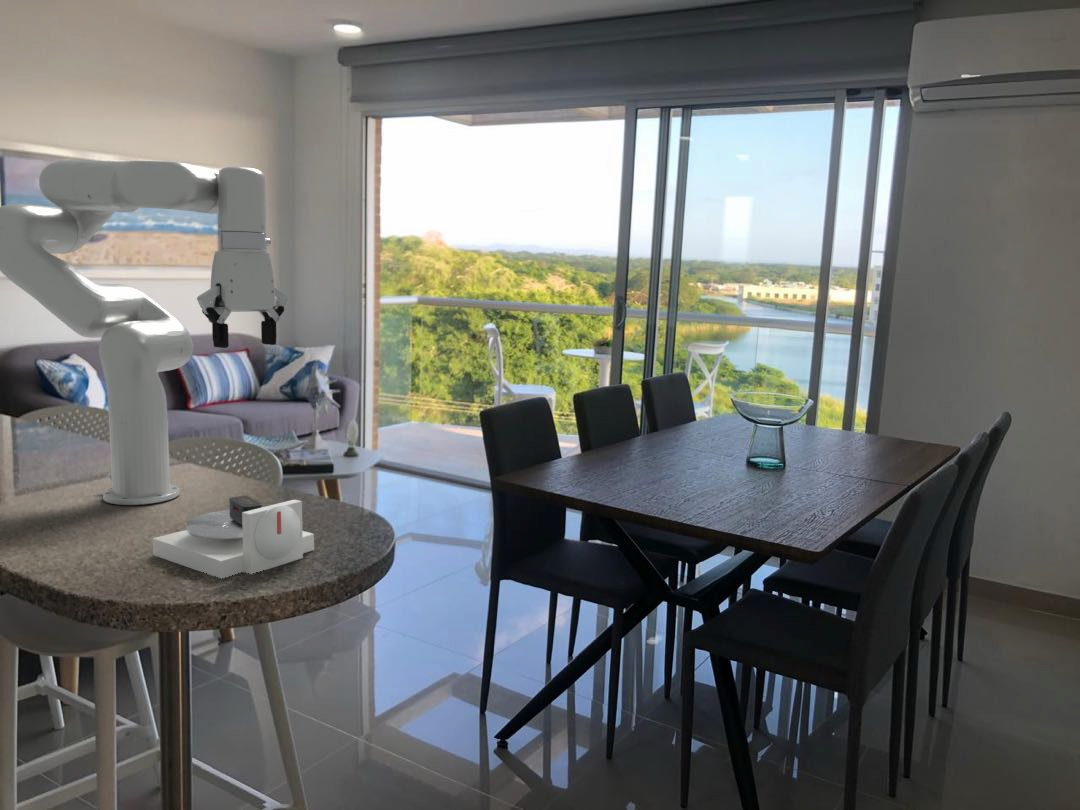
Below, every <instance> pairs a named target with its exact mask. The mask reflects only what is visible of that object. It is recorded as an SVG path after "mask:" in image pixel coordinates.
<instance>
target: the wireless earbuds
mask: <svg viewBox="0 0 1080 810" xmlns="http://www.w3.org/2000/svg"><path fill="white" fill-rule="evenodd" d="M228 504H229V505H228V506H229V510H230V518H231V519H232V520H234V521H235V522H237V523H238V524H240V525H242V512H246V511H250V510H254V509H258V508H262V507H263V504H262V502H259V501H257V500H256V499H254V498H252V497H250V496H249V495H241V496H232V497H229V499H228Z"/></svg>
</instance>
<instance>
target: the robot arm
mask: <svg viewBox="0 0 1080 810" xmlns="http://www.w3.org/2000/svg"><path fill="white" fill-rule="evenodd" d="M38 185H39V189H40V192H41V193H42V195H43V196H44V197H45V199H46V200H47V201H48V202H49V203H51V204H53V205H54V206H49V205H48V206H47V205H40V204H31V203H30V204H28V203H9V204H5V205H2V206H0V272H1V273H2V274H3V275H4V276H5V278H7V279H8V280H9V281H11V282H12V283H14V284H15V285H16V286H17V287H19V288H20V289H21V290H23V291H24V292H26V294H28V295H29V296H31V297H32V298H34V299H35V300H36V301H37V302H38V303H39V304H41V305H42V307H44V308H45V309H46V310H47V311H49V313H51V314H52V315H54V316H55V317H56V318H57V319H59V320H60V321H61V322H62V323H63V324H65V325H66V326H67V327H68V328H69V329H71V330H72V331H73V332H75V334H78V336H81V337H84V338H90V339H93V338H94V339H99V338H100V341H99V344H98V345H99V346H98V353H99V354H98V355H99V359H100V364H101V368H102V371H103V376H104V380H105V385H106V387H105V388H106V393H107V394H106V395H107V396H106V397H107V410H108V411H107V412H108V426H109V427H108V430H109V445H110V446H109V447H110V448H109V451H110V467H111V468H110V469H111V470H110V471H109V472H108V473H107V474H106V479H107V480H108V481H111V487H110V488H107V489H105V491H103V493H102V500H103V501H104V502H105V503H108V504H112V505H117V506H118V505H119V506H120V505H121V506H139V505H140V506H141V505H151V504H157V503H162V502H166V501H170V500H173V499H175V498H177V497H178V496H180V487H179V486H178V485H176V484H173V483H171V481H170V480H171V477H170V475H171V474H170V453H169V451H170V448H169V447H170V446H169V425H168V424H169V423H168V402H167V395H166V390H165V387H164V385H163V383H162V381H161V378H160V375H159V373H161V372H167V371H172V370H176V369H179V368H182V367H183V366H185V365H186V364H187V362H189V361H190V359H191V357H192V355H193V352H194V342H193V340H192V336H191V334H190V332H189V331H188V329H187V328H186V326H184V324H182V323H181V322H180V321H179V320H178V319H177V318H176V317H175V316H173V315H172V314H171V313H170V312H168V311H167V310H166V309H165V308H163V307H162V306H161V305H160V304H158V303H157V302H156V301H154V299H152V298H151V297H150V296H148V295H147V294H146V293H144V292H143V291H141V290H140V289H137V288H135V287H133V286H129V285H125V284H116V283H115V284H114V283H113V284H111V283H110V284H105V283H98V282H95V281H93V280H91V279H89V278H88V277H86V276H85V275H83V274H82V273H80V271H79V270H77V269H76V268H75V267H74V265H71V264H70V263H68V262H67V261H65V260H63V259H61V258H60V257H57V256H56V255H54V254H57V255H58V254H59V255H60V254H61V255H62V254H63V255H64V254H69V253H74V252H76V251H78V250H80V249H81V248H82V247H83V246H85V244H87V243H88V242H89V240H91V239H92V237H93V236H94V235H95V234H96V233H98V231H99V230H100V229H101V228H102V227H103V225H105V223H107V222H108V221H109V219H111V218H112V216H113V215H114V214H115V213H132V212H136V211H137V210H138V209H139V208H140V209H144V208H145V209H163V210H164V209H165V210H174V211H175V210H176V211H185V212H186V211H188V212H195V213H200V214H201V213H203V214H211V215H213V214H218V236H219V237H218V240H219V241H218V242H219V251H218V250H217V251H215V252H214V255H213V260H212V267H211V271H210V272H211V274H210V277H211V278H210V288H209V289H208V290H206V291H204V292H203V293H201V294H199V295H198V296H197V298H196V301H197V302H198V305H199V307H200V308H201V311H202V314H203V315H204V316H205V317H206V318H207V320H208V322H209V323H211V325H212V326H211V328H212V329H211V330H212V333H211V334H212V342H213V343H212V344H213V347H214V348H221V349H227V348H229V346H230V345H229V324H228V323H225V322H226V321H227V319H228V318H229V316H230V315H231V313H232V312H236V313H241V312H242V313H243V312H246V313H247V312H248V313H249V312H252V313H253V312H258V314H260V315H261V317H262V318H263V320H261V323H260V325H261V326H260V328H261V330H260V331H261V343H262V344H263V345H271V346H272V345H273V346H276V344H277V322H279V321H280V317H281V315H283V313H284V311H285V307H286V306H287V305H286V304H287V302H288V299H289V297H288V296H287V295H286V294H285V293H283V292H281V291H280V290H279V289H277V288H275V278H274V270H273V264H272V260H271V255H270V253H269V252H268V251H267V247H269V246H271V243H272V241H271V239H270V238H267V201H266V199H267V196H266V194H267V193H266V177H265V174H264V173H263V172H262V171H261V170H259V169H257V168H254V167H253V168H252V167H245V166H227V167H226V166H225V167H223V168H221V169H215V168H210V167H205V166H200V165H195V164H191V163H184V162H179V161H177V162H176V161H165V160H164V161H163V160H162V161H161V160H159V161H158V160H130V161H129V160H122V161H120V160H119V161H116V160H114V161H113V160H85V159H83V160H82V159H63V160H62V159H61V160H56V161H54V162H51V163H49V164H47V165H46V166H45V167H44V168H43V169H42V171H41V172H40V174H39V178H38ZM56 206H57V207H56Z"/></svg>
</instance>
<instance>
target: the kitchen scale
mask: <svg viewBox="0 0 1080 810" xmlns="http://www.w3.org/2000/svg"><path fill="white" fill-rule="evenodd" d="M185 528H186V529H185V530H181V531H177V532H172V533H170V534H169V533H168V534H164V535H162V536H157V537H153V538H152V551H153V553H152V555H153V556H155V557H158V558H161V559H163V560H167V561H170V562H172V563H175V564H178V565H180V566H182V567H183V566H184V567H187V568H190V569H192V570H195V571H197V572H201V573H203V572H204V574H206V573H207V574H206V575H209V576H211V577H215V576H216V577H215V578H217V577H218V579H220V578H221V580H223V579H226V578H229V576H230V577H233V576H235V574H236V575H239V574H241V572H242V573H245V572H246V573H245V574H248V573H249V574H248V575H254V574H256V572H258V573H260V571H261V572H263V570H264V571H267V570H269V569H273V568H277V567H279V566H283V565H286V564H289V563H291V562H296V561H298V560H301V559H303V558H304V554H307V553H309V552H312V551H315V534H314V533H312V532H308V531H306V530H305V531H304V530H303V501H302V500H298V499H291V500H286V501H282V502H278V503H275V504H274V503H273V504H270V505H267V506H262V508H258V509H254V510H250V511H246V512H242V525H240V524H238V523H237V522H235V521H234V520H232V519H231V518H230V509H223V510H217V511H210V512H207V513H203V514H200V515H197V516H195V517H192V518H190V519H189V520H188V521H187V522H186V527H185ZM238 573H239V574H238ZM253 573H254V574H253ZM232 575H233V576H232ZM225 577H226V578H225ZM222 578H223V579H222Z"/></svg>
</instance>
